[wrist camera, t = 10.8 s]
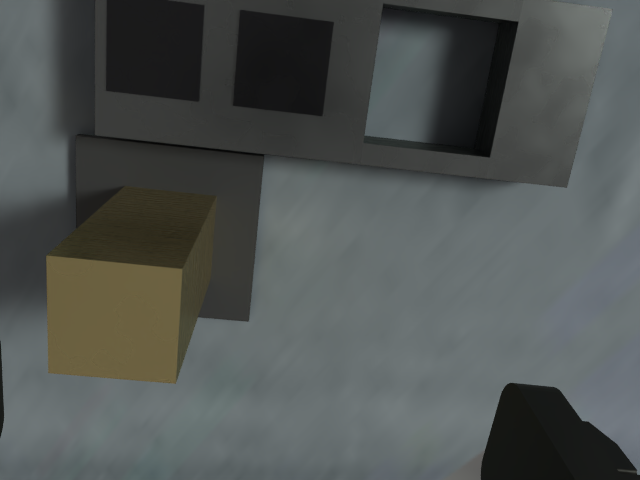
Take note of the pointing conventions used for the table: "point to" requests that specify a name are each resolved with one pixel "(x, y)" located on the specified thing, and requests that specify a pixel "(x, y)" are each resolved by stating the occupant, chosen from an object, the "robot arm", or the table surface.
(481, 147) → the rail
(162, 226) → the brass block
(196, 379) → the table surface
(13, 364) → the table surface
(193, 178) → the rubber mat
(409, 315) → the table surface
